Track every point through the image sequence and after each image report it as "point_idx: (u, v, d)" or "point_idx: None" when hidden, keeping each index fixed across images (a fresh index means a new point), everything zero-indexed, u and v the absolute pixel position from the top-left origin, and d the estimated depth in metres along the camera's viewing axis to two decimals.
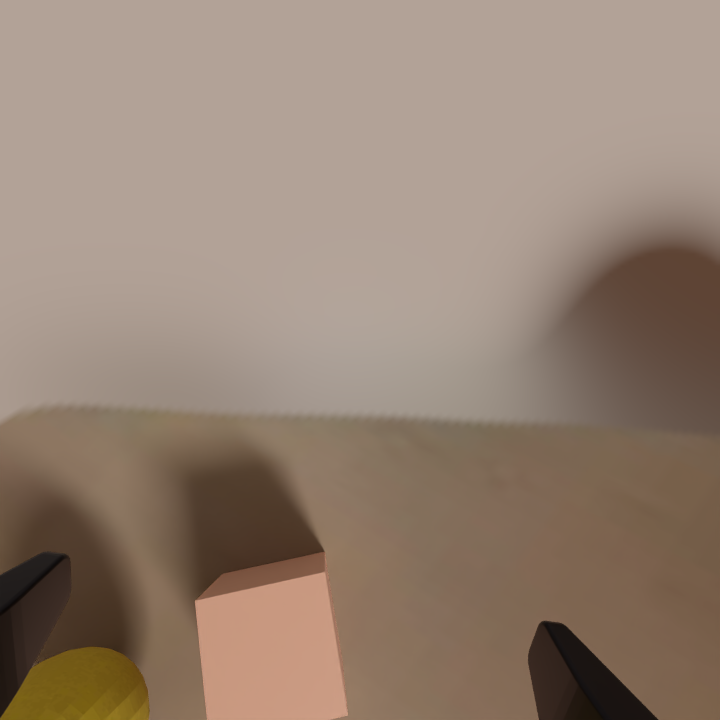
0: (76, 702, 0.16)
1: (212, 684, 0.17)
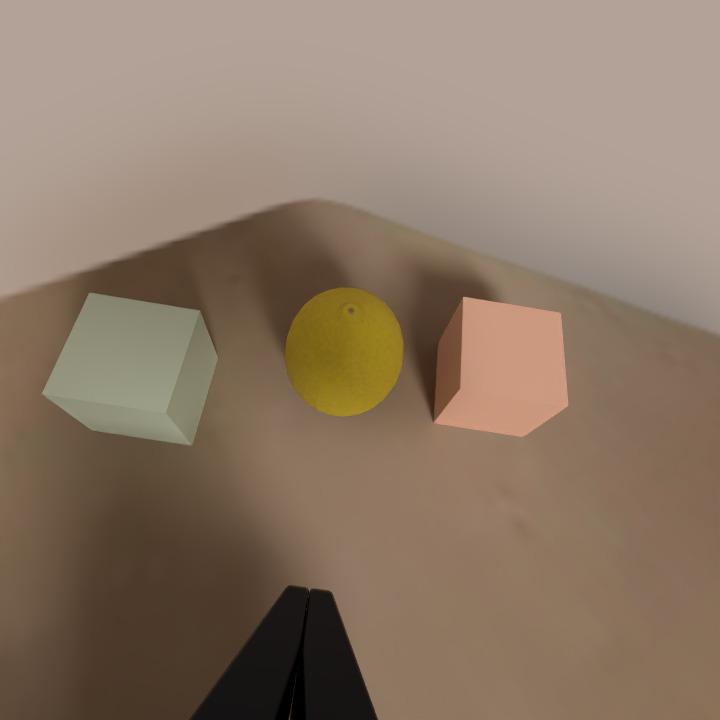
0: None
1: (468, 349, 0.22)
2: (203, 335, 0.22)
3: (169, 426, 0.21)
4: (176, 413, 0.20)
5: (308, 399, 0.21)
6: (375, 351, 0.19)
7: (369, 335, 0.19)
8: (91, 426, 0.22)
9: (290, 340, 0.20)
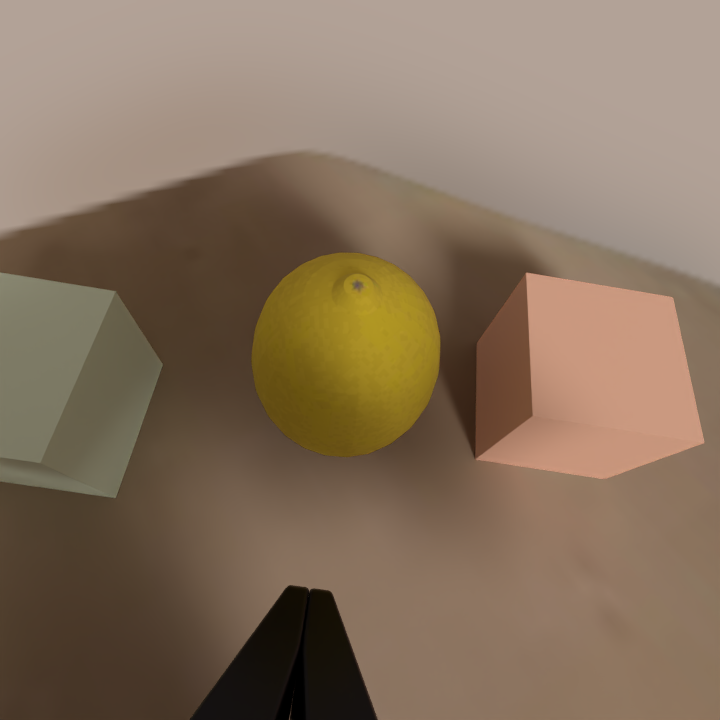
0: None
1: (539, 352, 0.14)
2: (127, 331, 0.14)
3: (63, 478, 0.13)
4: (70, 458, 0.12)
5: (288, 433, 0.13)
6: (399, 357, 0.11)
7: (390, 330, 0.11)
8: None
9: (257, 338, 0.12)
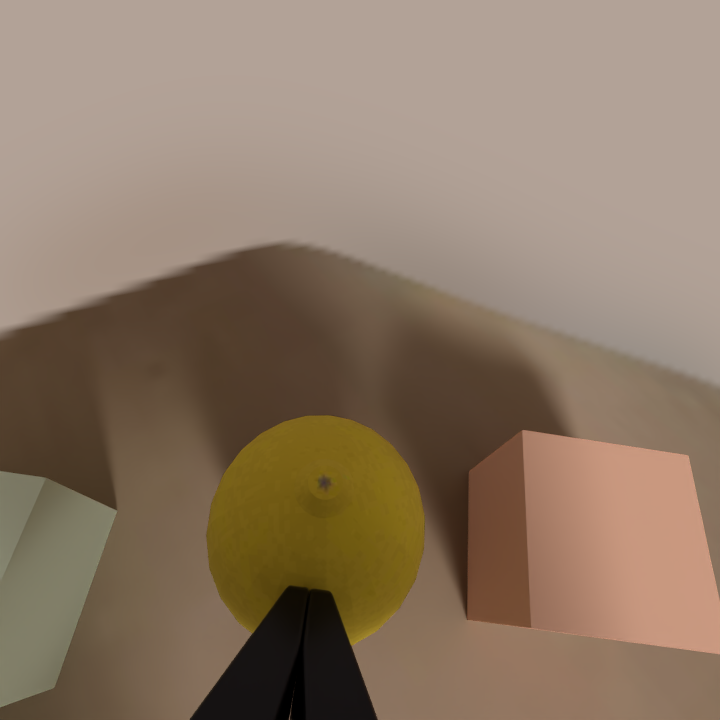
0: None
1: (538, 538, 0.12)
2: (65, 508, 0.13)
3: None
4: None
5: (247, 629, 0.11)
6: (375, 562, 0.09)
7: (363, 532, 0.09)
8: None
9: (210, 524, 0.10)
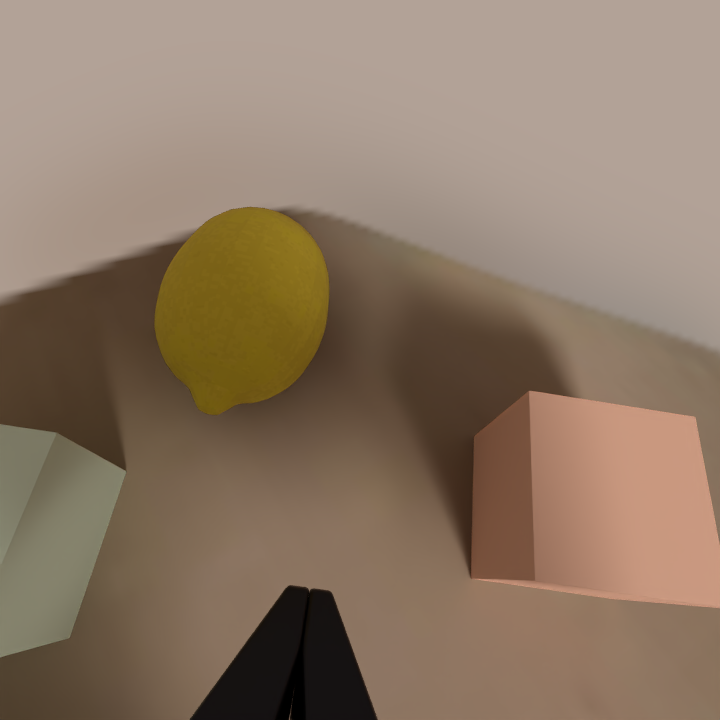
0: (321, 256, 0.16)
1: (543, 495, 0.12)
2: (76, 464, 0.13)
3: None
4: (2, 637, 0.11)
5: None
6: None
7: None
8: None
9: None
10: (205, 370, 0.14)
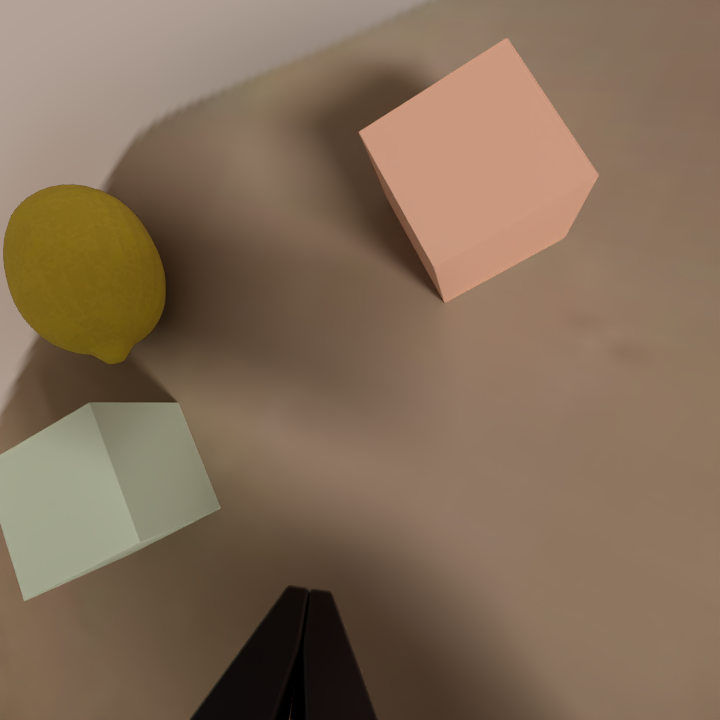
0: (26, 205, 0.17)
1: (410, 203, 0.14)
2: (126, 414, 0.17)
3: (169, 530, 0.17)
4: (160, 520, 0.16)
5: None
6: None
7: None
8: (120, 558, 0.20)
9: None
10: (79, 352, 0.18)
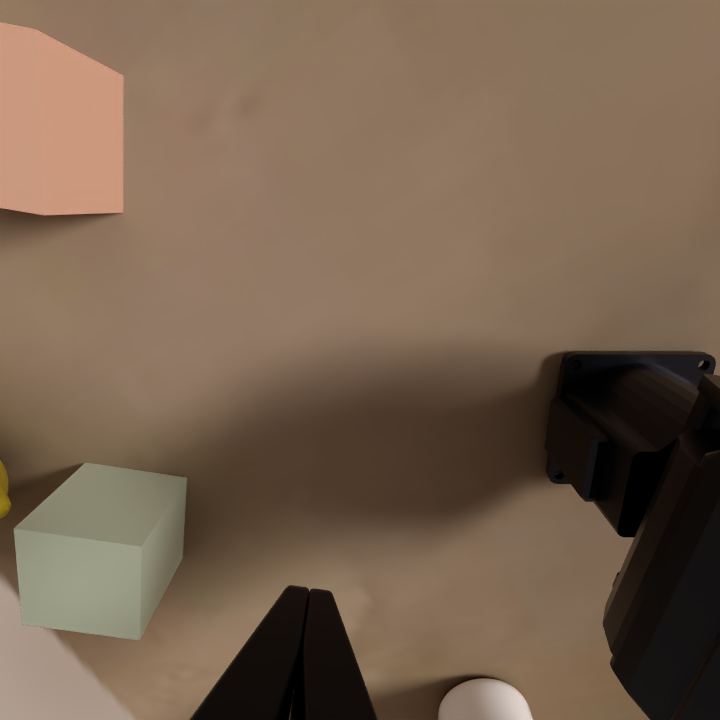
0: None
1: None
2: (50, 506, 0.20)
3: (161, 522, 0.20)
4: (144, 525, 0.20)
5: None
6: None
7: None
8: (177, 564, 0.24)
9: None
10: None
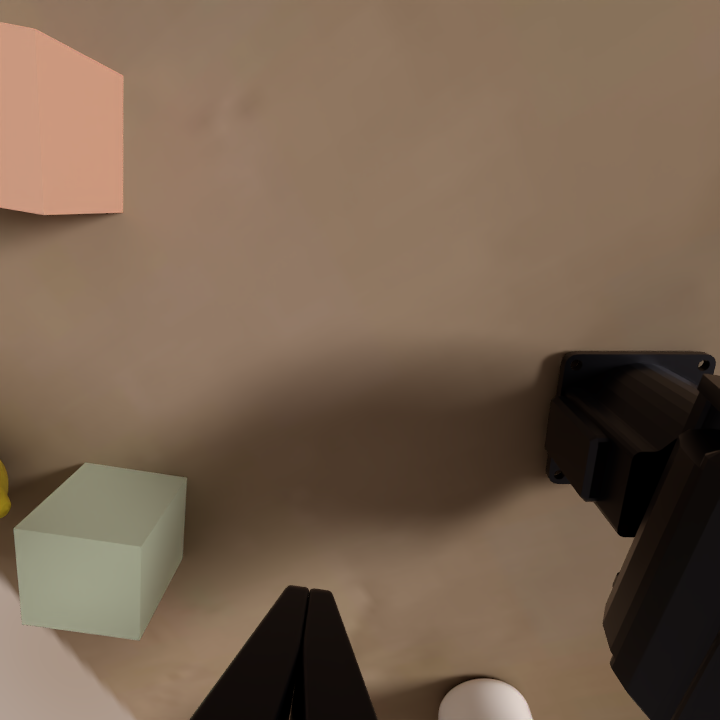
0: None
1: None
2: (50, 506, 0.20)
3: (161, 522, 0.20)
4: (144, 525, 0.20)
5: None
6: None
7: None
8: (176, 565, 0.24)
9: None
10: None
